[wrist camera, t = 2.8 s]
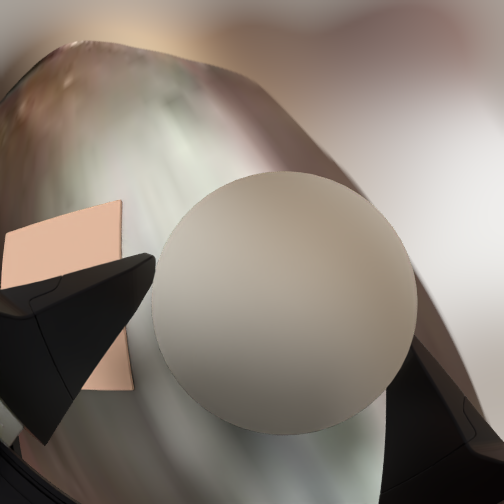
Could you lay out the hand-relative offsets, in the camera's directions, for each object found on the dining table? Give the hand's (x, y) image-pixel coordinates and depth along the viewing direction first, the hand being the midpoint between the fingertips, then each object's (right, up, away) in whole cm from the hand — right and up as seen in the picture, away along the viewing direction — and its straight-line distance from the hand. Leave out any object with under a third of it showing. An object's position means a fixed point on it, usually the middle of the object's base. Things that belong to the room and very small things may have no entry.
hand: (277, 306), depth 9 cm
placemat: (-16, -2, +8) cm, 17 cm away
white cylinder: (0, -3, +7) cm, 8 cm away
